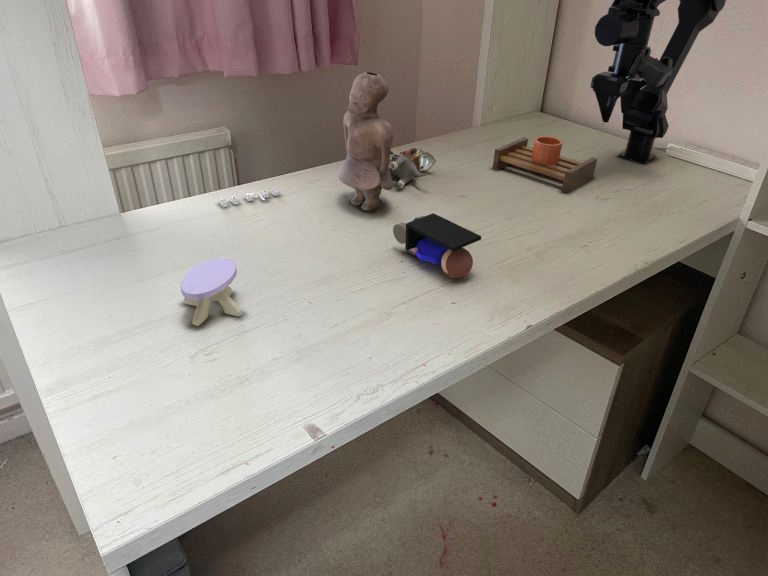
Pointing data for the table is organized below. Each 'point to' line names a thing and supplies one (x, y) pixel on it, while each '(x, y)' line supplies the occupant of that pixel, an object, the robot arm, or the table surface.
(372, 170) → the clay figurine
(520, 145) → the rack
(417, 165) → the figurine
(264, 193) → the figurines set
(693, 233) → the table surface
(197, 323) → the toy table
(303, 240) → the table surface
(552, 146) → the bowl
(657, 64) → the robot arm
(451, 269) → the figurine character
